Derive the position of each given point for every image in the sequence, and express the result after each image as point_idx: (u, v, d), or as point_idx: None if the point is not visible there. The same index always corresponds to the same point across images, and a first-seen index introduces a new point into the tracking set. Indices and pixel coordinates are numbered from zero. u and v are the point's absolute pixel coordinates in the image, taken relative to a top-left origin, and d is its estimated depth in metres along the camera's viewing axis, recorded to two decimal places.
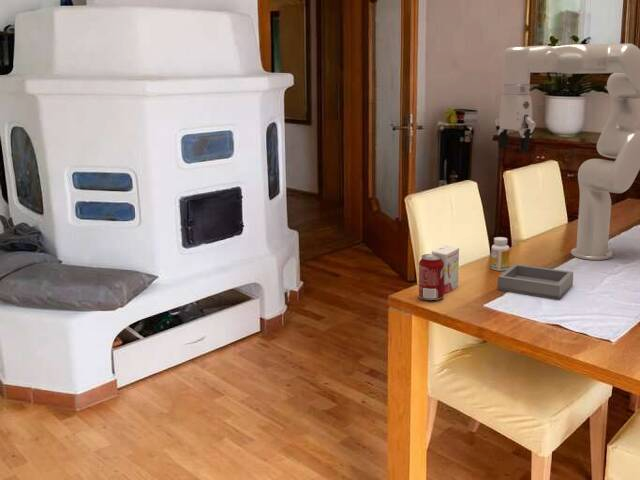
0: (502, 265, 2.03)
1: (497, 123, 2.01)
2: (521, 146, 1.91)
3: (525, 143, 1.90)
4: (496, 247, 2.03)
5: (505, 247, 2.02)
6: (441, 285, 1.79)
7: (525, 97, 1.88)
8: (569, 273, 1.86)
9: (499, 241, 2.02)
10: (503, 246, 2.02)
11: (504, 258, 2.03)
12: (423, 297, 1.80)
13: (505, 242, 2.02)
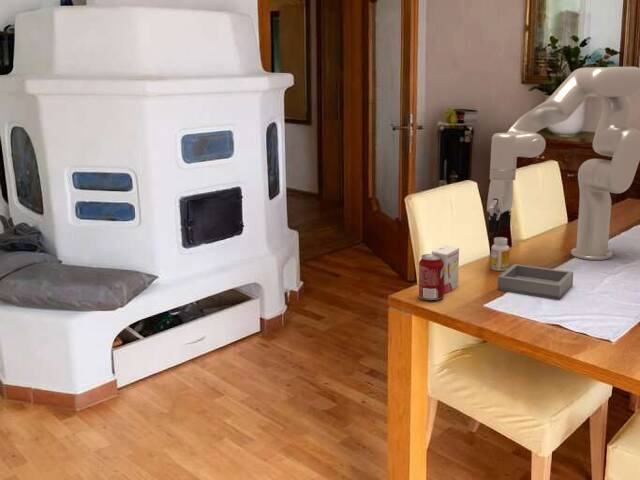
0: (502, 265, 2.03)
1: (494, 210, 1.95)
2: None
3: None
4: (496, 247, 2.03)
5: (505, 247, 2.02)
6: (441, 285, 1.79)
7: None
8: (569, 273, 1.86)
9: (499, 241, 2.02)
10: (503, 246, 2.02)
11: (504, 258, 2.03)
12: (423, 297, 1.80)
13: (505, 242, 2.02)
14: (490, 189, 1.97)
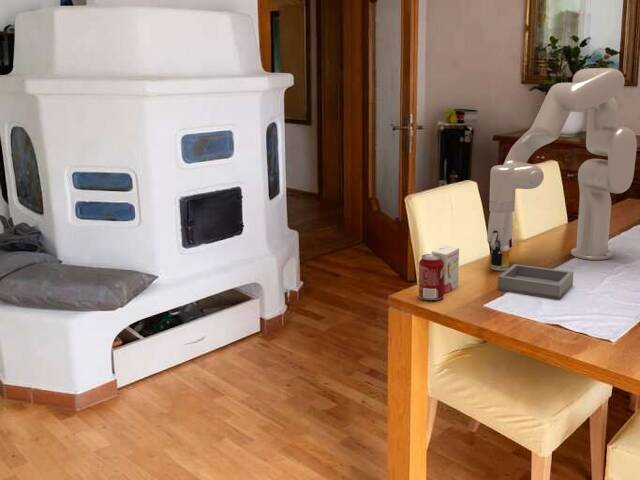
0: (502, 265, 2.03)
1: (495, 245, 1.99)
2: None
3: None
4: None
5: (505, 247, 2.02)
6: (441, 285, 1.79)
7: None
8: (569, 273, 1.86)
9: None
10: (503, 246, 2.02)
11: (504, 258, 2.03)
12: (423, 297, 1.80)
13: (505, 242, 2.02)
14: (490, 221, 2.00)
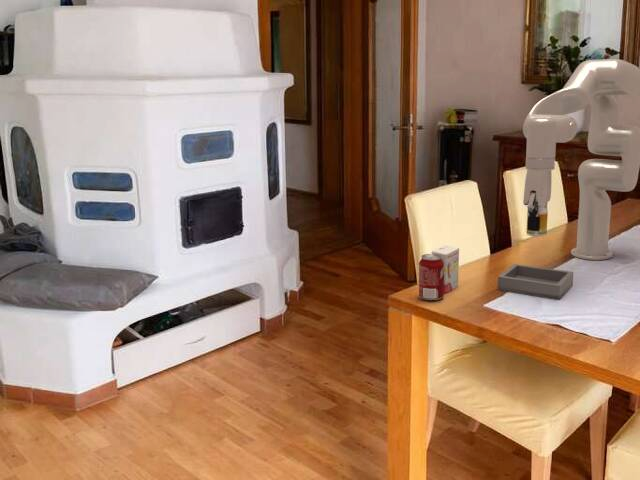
0: (540, 230, 1.81)
1: (533, 207, 1.77)
2: None
3: None
4: None
5: (543, 210, 1.81)
6: (441, 285, 1.79)
7: None
8: (569, 273, 1.86)
9: (536, 203, 1.80)
10: (541, 209, 1.81)
11: (542, 222, 1.81)
12: (423, 297, 1.80)
13: None
14: (527, 180, 1.78)
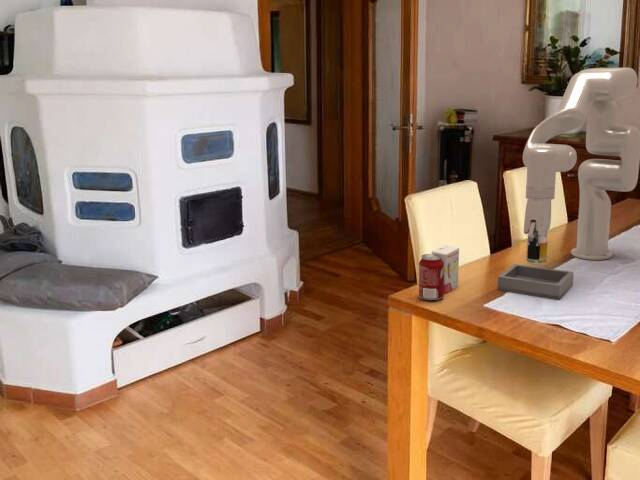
0: (540, 259, 1.83)
1: (533, 236, 1.78)
2: None
3: None
4: None
5: (543, 238, 1.82)
6: (441, 285, 1.79)
7: None
8: (569, 273, 1.86)
9: (536, 232, 1.82)
10: (541, 237, 1.82)
11: (542, 251, 1.82)
12: (423, 297, 1.80)
13: None
14: (527, 209, 1.79)
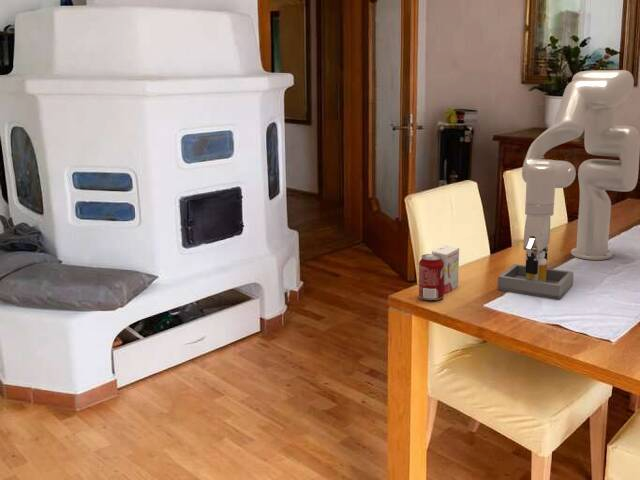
0: (539, 280, 1.85)
1: (531, 250, 1.79)
2: None
3: None
4: None
5: (543, 261, 1.84)
6: (441, 285, 1.79)
7: None
8: (569, 273, 1.86)
9: None
10: (540, 260, 1.84)
11: (542, 273, 1.84)
12: (423, 297, 1.80)
13: (543, 256, 1.84)
14: (526, 226, 1.80)
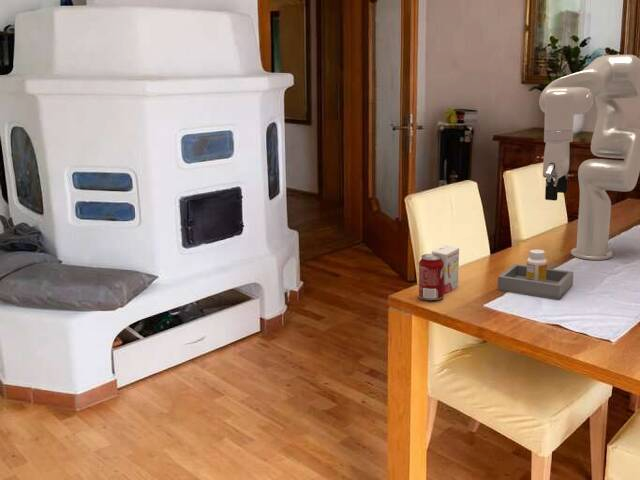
0: (539, 280, 1.85)
1: (551, 176, 1.80)
2: None
3: None
4: (532, 261, 1.84)
5: (542, 261, 1.84)
6: (441, 285, 1.79)
7: None
8: (569, 273, 1.86)
9: (536, 254, 1.84)
10: (540, 260, 1.84)
11: (542, 273, 1.84)
12: (423, 297, 1.80)
13: (543, 255, 1.84)
14: (546, 153, 1.81)
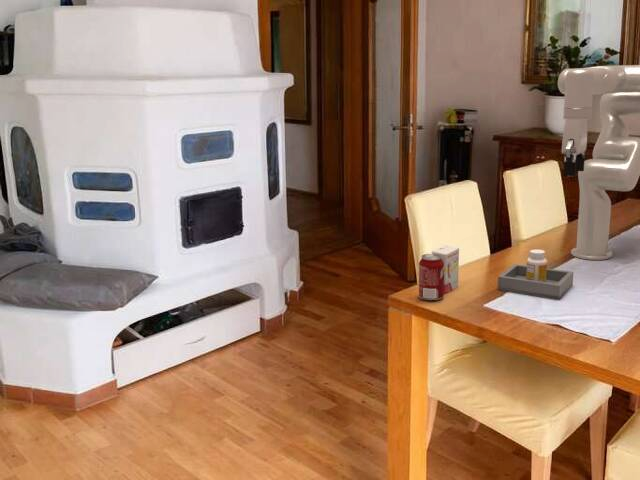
0: (539, 280, 1.85)
1: (570, 151, 1.85)
2: None
3: None
4: (532, 261, 1.84)
5: (542, 261, 1.84)
6: (441, 285, 1.79)
7: None
8: (569, 273, 1.86)
9: (536, 254, 1.84)
10: (540, 260, 1.84)
11: (542, 273, 1.84)
12: (423, 297, 1.80)
13: (543, 256, 1.84)
14: (565, 129, 1.87)
